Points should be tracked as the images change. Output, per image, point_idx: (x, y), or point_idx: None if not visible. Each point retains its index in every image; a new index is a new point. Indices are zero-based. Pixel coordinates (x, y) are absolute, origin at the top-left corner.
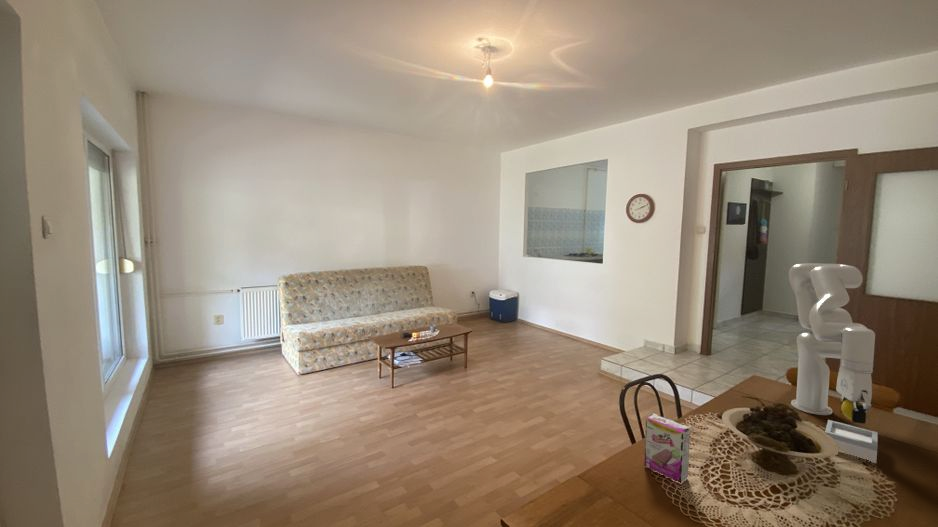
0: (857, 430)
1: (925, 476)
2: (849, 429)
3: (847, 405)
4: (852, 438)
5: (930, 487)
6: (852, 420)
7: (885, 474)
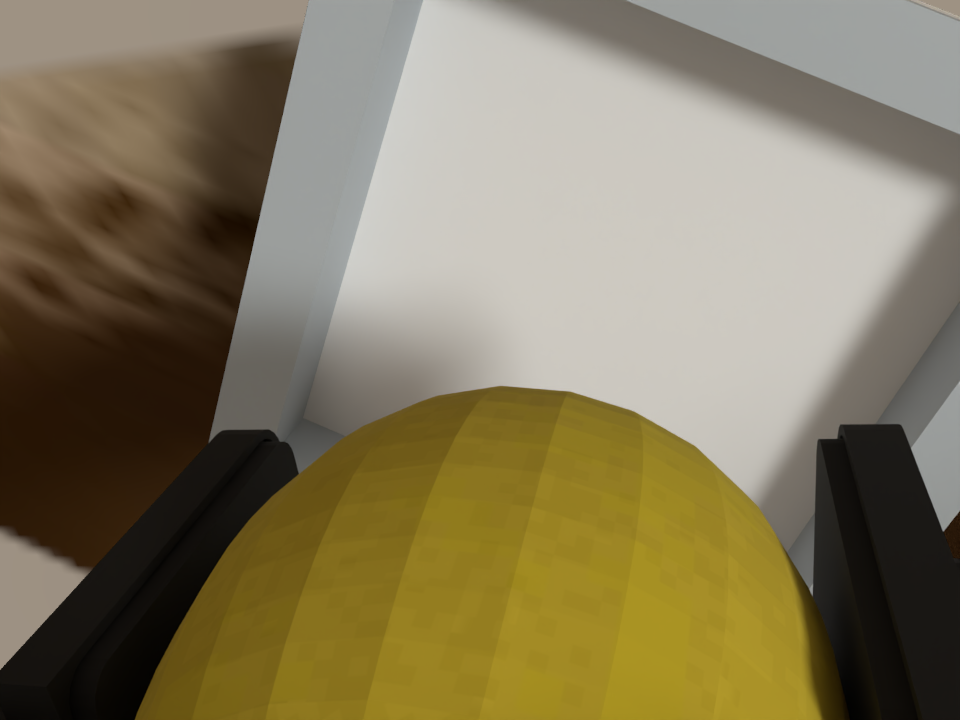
0: None
1: None
2: (903, 409)
3: (198, 710)
4: (304, 248)
5: (79, 570)
6: (226, 439)
7: (93, 330)
